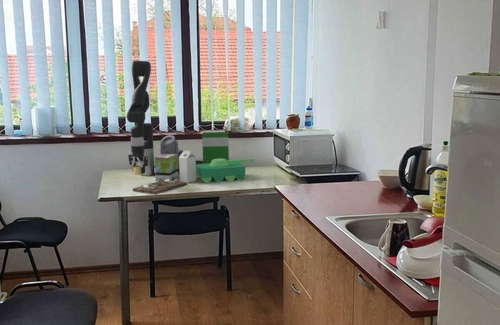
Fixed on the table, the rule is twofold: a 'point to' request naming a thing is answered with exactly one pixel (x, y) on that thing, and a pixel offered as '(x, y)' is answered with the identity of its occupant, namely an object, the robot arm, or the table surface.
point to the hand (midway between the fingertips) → (139, 172)
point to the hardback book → (215, 146)
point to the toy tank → (222, 170)
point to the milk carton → (187, 166)
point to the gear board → (160, 186)
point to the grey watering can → (170, 147)
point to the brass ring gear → (137, 170)
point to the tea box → (166, 166)
